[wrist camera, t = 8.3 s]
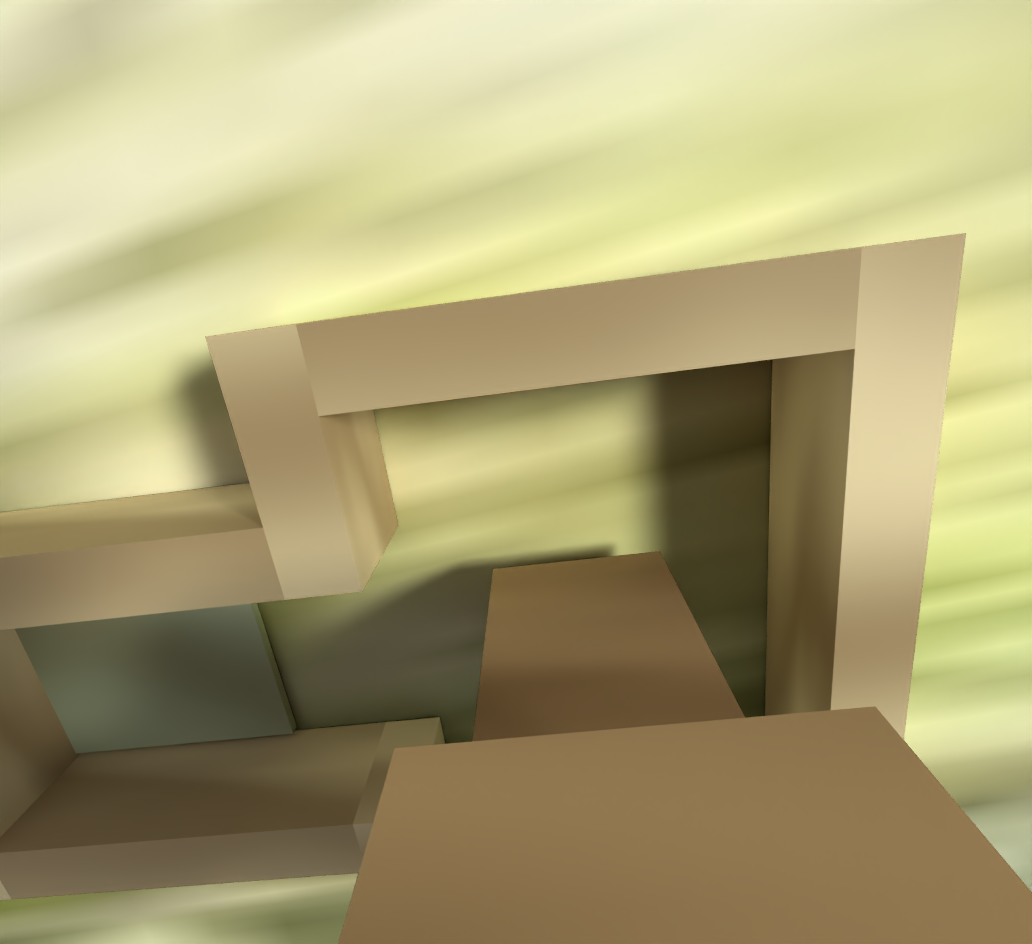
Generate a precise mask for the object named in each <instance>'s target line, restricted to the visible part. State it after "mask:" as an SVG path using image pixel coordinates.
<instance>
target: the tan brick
mask: <svg viewBox="0 0 1032 944" xmlns="http://www.w3.org/2000/svg"><path fill="white" fill-rule="evenodd" d="M338 944H1032V892H1031V891H1030V890H1029V888H1028V887H1027V886H1026V885H1025V884H1024V882H1023V881H1022V880H1021V879H1020V878H1019V877H1018V875H1017V874H1016V873H1015V872H1014V871H1013V869H1012V868H1011V867H1010V866H1009V865H1008V863H1007V862H1006V861H1005V860H1004V859H1003V858H1002V856H1001V855H1000V854H999V853H998V852H997V850H996V849H995V848H994V847H993V846H992V844H991V843H990V842H989V841H988V840H987V838H986V837H985V836H984V835H983V834H982V833H981V831H980V830H979V829H978V828H977V827H976V825H975V824H974V823H973V822H972V821H971V819H970V818H969V817H968V816H967V815H966V814H965V812H964V811H963V810H962V809H961V808H960V806H959V805H958V804H957V803H956V802H955V800H954V799H953V798H952V797H951V796H950V794H949V793H948V792H947V791H946V790H945V789H944V787H943V786H942V785H941V784H940V783H939V781H938V780H937V779H936V778H935V777H934V775H933V774H932V773H931V772H930V771H929V770H928V768H927V767H926V766H925V765H924V764H923V762H922V761H921V760H920V759H919V758H918V756H917V755H916V754H915V753H914V752H913V750H912V749H911V748H910V747H909V746H908V745H907V743H906V742H905V741H904V740H903V739H902V737H901V736H900V735H899V734H898V733H897V731H896V730H895V729H894V728H893V727H892V726H891V724H890V723H889V722H888V721H887V720H886V718H885V717H884V716H883V715H882V714H881V712H880V711H879V710H878V709H877V708H876V706H873V707H862V708H850V709H839V710H828V711H816V712H805V713H793V714H782V715H770V716H759V717H747V718H745V716H744V714H743V712H742V711H741V709H740V707H739V705H738V703H737V701H736V699H735V697H734V695H733V693H732V691H731V689H730V687H729V685H728V683H727V681H726V679H725V677H724V675H723V673H722V672H721V670H720V668H719V666H718V664H717V662H716V660H715V658H714V656H713V654H712V652H711V650H710V648H709V646H708V644H707V642H706V640H705V638H704V636H703V634H702V633H701V631H700V629H699V627H698V625H697V623H696V621H695V619H694V617H693V615H692V613H691V611H690V609H689V607H688V605H687V603H686V601H685V599H684V597H683V596H682V594H681V592H680V590H679V588H678V586H677V584H676V582H675V580H674V578H673V576H672V574H671V572H670V570H669V568H668V566H667V564H666V562H665V560H664V558H663V557H662V555H661V553H660V551H658V552H649V553H639V554H630V555H620V556H611V557H602V558H592V559H583V560H573V561H564V562H554V563H545V564H535V565H526V566H516V567H507V568H498V569H493V574H492V582H491V590H490V599H489V607H488V615H487V624H486V632H485V640H484V648H483V657H482V665H481V673H480V682H479V690H478V698H477V707H476V715H475V723H474V732H473V740H472V742H461V743H450V744H438V745H427V746H415V747H404V748H395V749H394V752H393V756H392V759H391V763H390V766H389V770H388V773H387V776H386V780H385V783H384V787H383V790H382V794H381V797H380V801H379V804H378V808H377V811H376V815H375V818H374V822H373V825H372V828H371V832H370V835H369V839H368V842H367V846H366V849H365V853H364V856H363V860H362V863H361V867H360V870H359V874H358V877H357V880H356V884H355V887H354V891H353V894H352V898H351V901H350V905H349V908H348V912H347V915H346V919H345V922H344V925H343V929H342V932H341V936H340V939H339V943H338Z"/></svg>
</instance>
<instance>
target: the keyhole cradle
mask: <svg viewBox="0 0 1032 944" xmlns="http://www.w3.org/2000/svg"><path fill="white" fill-rule="evenodd" d="M965 237H966V233H964V234H956V235H949V236H941V237H933V238H926V239H918V240H910V241H903V242H895V243H888V244H880V245H872V246H865V247H857V248H849V249H842V250H835V251H827V252H820V253H813V254H805V255H798V256H791V257H783V258H776V259H769V260H761V261H754V262H746V263H739V264H732V265H724V266H717V267H710V268H702V269H695V270H688V271H680V272H673V273H666V274H658V275H651V276H644V277H636V278H629V279H622V280H614V281H607V282H599V283H592V284H585V285H577V286H570V287H563V288H555V289H548V290H541V291H533V292H526V293H519V294H511V295H504V296H497V297H489V298H482V299H475V300H467V301H460V302H452V303H445V304H438V305H430V306H423V307H416V308H408V309H401V310H394V311H386V312H379V313H372V314H364V315H357V316H350V317H342V318H335V319H328V320H320V321H313V322H305V323H298V324H291V325H283V326H276V327H269V328H262V329H255V330H248V331H241V332H234V333H227V334H220V335H214V336H207V337H206V341H207V344H208V347H209V351H210V354H211V357H212V361H213V364H214V367H215V370H216V374H217V377H218V380H219V384H220V387H221V390H222V394H223V397H224V400H225V404H226V407H227V410H228V413H229V417H230V420H231V423H232V427H233V430H234V433H235V437H236V440H237V443H238V447H239V450H240V453H241V456H242V460H243V463H244V466H245V470H246V473H247V476H248V480H249V483H244V484H236V485H228V486H219V487H211V488H202V489H194V490H186V491H177V492H169V493H161V494H152V495H144V496H135V497H127V498H119V499H110V500H102V501H93V502H85V503H77V504H68V505H60V506H52V507H43V508H35V509H26V510H18V511H10V512H1V513H0V900H8V899H21V898H34V897H48V896H61V895H74V894H87V893H100V892H113V891H127V890H140V889H153V888H166V887H179V886H193V885H206V884H219V883H232V882H245V881H259V880H272V879H285V878H298V877H311V876H325V875H338V874H351V873H359V870H360V867H361V863H362V860H363V856H364V853H365V849H366V846H367V842H368V839H369V835H370V832H371V828H372V825H373V822H374V818H375V815H376V811H377V808H378V804H379V801H380V797H381V794H382V790H383V787H384V783H385V780H386V776H387V773H388V770H389V766H390V763H391V759H392V756H393V752H394V749H395V748H404V747H415V746H427V745H438V744H445V740H444V735H443V731H442V726H441V721H440V717H437V718H426V719H415V720H404V721H393V722H382V723H371V724H360V725H350V726H339V727H328V728H317V729H306V730H295V729H296V727H297V726H296V723H295V720H294V717H293V714H292V711H291V708H290V704H289V701H288V698H287V695H286V692H285V689H284V686H283V683H282V680H281V677H280V673H279V670H278V667H277V664H276V661H275V658H274V655H273V652H272V649H271V645H270V642H269V639H268V636H267V633H266V630H265V627H264V624H263V621H262V617H261V614H260V611H259V608H258V605H257V603H261V602H270V601H280V600H289V599H299V598H308V597H318V596H327V595H336V594H346V593H355V592H363V590H364V588H365V586H366V584H367V582H368V581H369V579H370V577H371V575H372V573H373V571H374V569H375V568H376V566H377V564H378V562H379V560H380V558H381V557H382V555H383V553H384V551H385V549H386V547H387V546H388V544H389V542H390V540H391V538H392V536H393V535H394V533H395V531H396V529H397V527H398V522H397V517H396V513H395V508H394V504H393V499H392V494H391V490H390V485H389V480H388V476H387V471H386V466H385V462H384V457H383V453H382V448H381V443H380V439H379V434H378V429H377V425H376V420H375V416H374V411H373V409H380V408H388V407H396V406H404V405H412V404H420V403H428V402H436V401H444V400H452V399H460V398H468V397H476V396H484V395H492V394H500V393H508V392H516V391H523V390H531V389H539V388H547V387H555V386H563V385H571V384H579V383H587V382H595V381H603V380H611V379H619V378H627V377H635V376H643V375H651V374H659V373H667V372H675V371H683V370H691V369H699V368H706V367H714V366H722V365H730V364H738V363H746V362H754V361H762V360H770V359H772V402H771V451H770V501H769V550H768V599H767V648H766V698H765V716H770V715H782V714H793V713H805V712H816V711H828V710H839V709H850V708H862V707H873V706H876V708H877V709H878V710H879V711H880V712H881V714H882V715H883V716H884V717H885V718H886V720H887V721H888V722H889V723H890V724H891V726H892V727H893V728H894V729H895V730H896V731H897V733H898V734H899V735H900V736H901V737H902V739H903V740H904V733H905V725H906V717H907V709H908V701H909V693H910V684H911V676H912V668H913V660H914V652H915V644H916V636H917V627H918V619H919V611H920V603H921V595H922V587H923V579H924V571H925V562H926V554H927V546H928V538H929V530H930V522H931V514H932V505H933V497H934V489H935V481H936V473H937V465H938V457H939V448H940V440H941V432H942V424H943V416H944V408H945V400H946V391H947V383H948V375H949V367H950V359H951V351H952V343H953V335H954V326H955V318H956V310H957V302H958V294H959V286H960V278H961V269H962V261H963V253H964V245H965Z"/></svg>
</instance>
